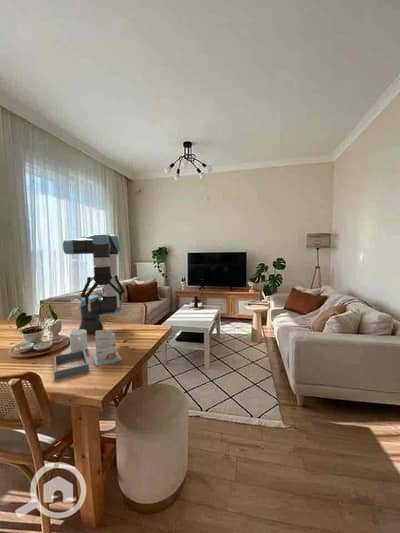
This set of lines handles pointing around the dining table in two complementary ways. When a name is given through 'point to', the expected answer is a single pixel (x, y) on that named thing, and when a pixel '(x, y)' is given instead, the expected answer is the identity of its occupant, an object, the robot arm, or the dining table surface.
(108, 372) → the dining table surface
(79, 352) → the bin
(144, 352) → the dining table surface
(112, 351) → the ink cartridge box
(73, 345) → the mug
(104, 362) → the mat
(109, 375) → the dining table surface
